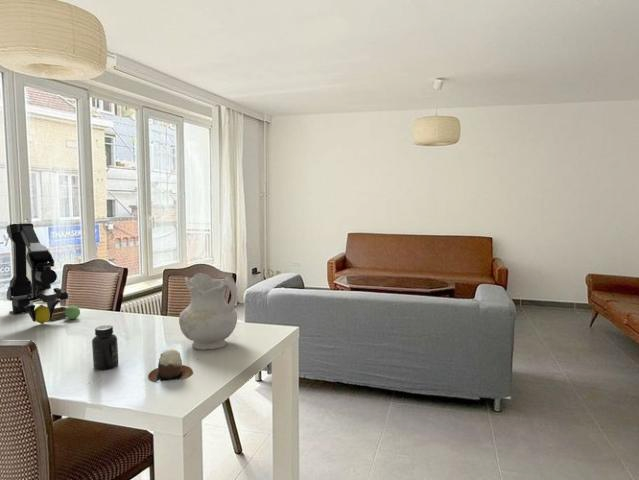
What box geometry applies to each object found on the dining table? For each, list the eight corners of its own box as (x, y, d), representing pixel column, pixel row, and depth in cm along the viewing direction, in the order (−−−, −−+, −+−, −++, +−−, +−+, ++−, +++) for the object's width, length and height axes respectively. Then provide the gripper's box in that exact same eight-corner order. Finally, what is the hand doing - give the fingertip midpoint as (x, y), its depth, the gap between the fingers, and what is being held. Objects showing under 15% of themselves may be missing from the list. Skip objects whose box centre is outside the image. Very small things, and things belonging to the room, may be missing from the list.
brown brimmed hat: (146, 366, 134) (170, 338, 135) (174, 386, 136) (197, 359, 137) (141, 380, 122) (167, 350, 123) (172, 402, 124) (197, 373, 126)
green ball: (62, 319, 188) (61, 306, 188) (75, 316, 193) (75, 303, 192) (69, 321, 185) (68, 308, 185) (83, 318, 190) (82, 305, 189)
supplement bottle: (111, 360, 141) (110, 322, 139) (122, 366, 136) (121, 326, 135) (89, 367, 135) (87, 327, 134) (99, 372, 131) (98, 332, 130)
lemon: (30, 325, 179) (29, 305, 179) (43, 322, 184) (42, 302, 184) (41, 326, 178) (40, 306, 177) (53, 323, 183) (52, 303, 182)
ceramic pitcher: (252, 343, 162) (253, 273, 162) (226, 356, 143) (228, 277, 143) (198, 338, 168) (199, 270, 168) (166, 350, 149) (168, 275, 149)
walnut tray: (38, 316, 192) (38, 311, 192) (64, 311, 201) (63, 306, 201) (51, 320, 186) (50, 314, 186) (77, 315, 195) (76, 309, 195)
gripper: (23, 287, 167) (26, 328, 169) (74, 279, 183) (76, 317, 184) (10, 283, 173) (12, 323, 175) (60, 277, 189) (62, 313, 190)
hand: (42, 319), depth 181 cm, fingers closed on lemon, 5 cm apart
